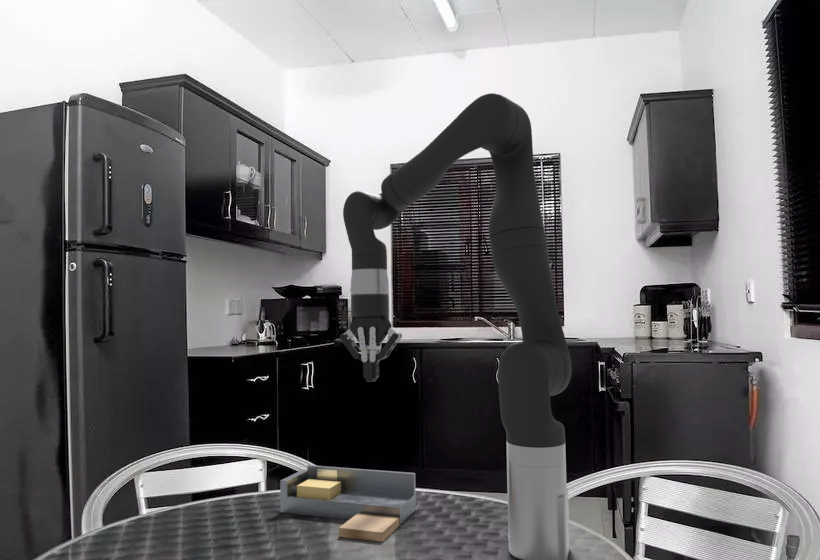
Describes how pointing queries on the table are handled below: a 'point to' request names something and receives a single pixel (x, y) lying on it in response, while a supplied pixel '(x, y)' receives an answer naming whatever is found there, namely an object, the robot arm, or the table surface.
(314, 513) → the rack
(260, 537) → the table surface
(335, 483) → the yellow block with dome
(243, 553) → the table surface
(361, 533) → the pad
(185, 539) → the table surface
